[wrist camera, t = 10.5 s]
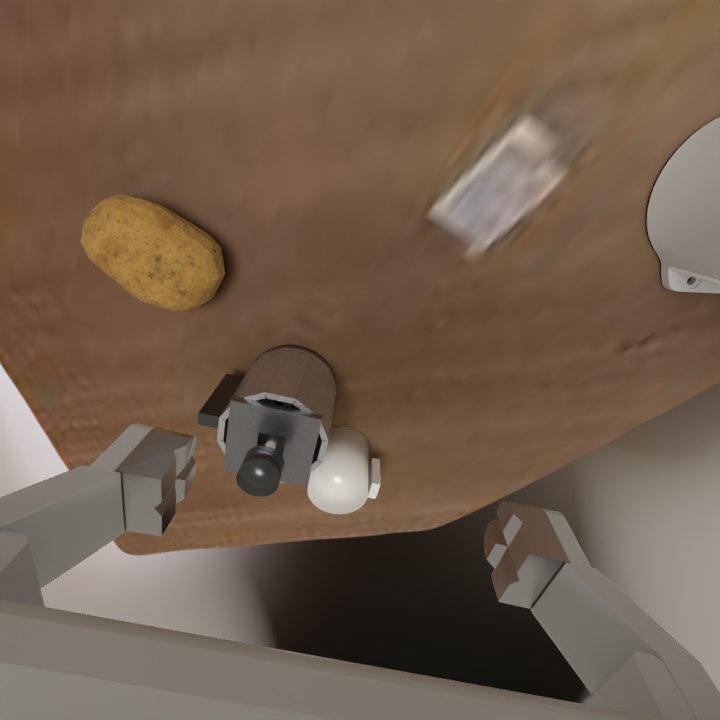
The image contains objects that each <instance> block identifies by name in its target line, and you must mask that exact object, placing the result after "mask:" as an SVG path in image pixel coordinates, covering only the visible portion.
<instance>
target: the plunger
mask: <svg viewBox="0 0 720 720" xmlns="http://www.w3.org/2000/svg"><path fill="white" fill-rule="evenodd" d="M259 401H260V402H265V403H270V404H274V405H279V406H284V407H288V408H293V409H298V410H300V409H299V408H298V407H296V406H295V405H294V404H291V403H286V402H282V401H277V400H272V399H268V398H264V399H260V400H259ZM278 439H279V437H278V436H273V435H269V437H268V439H267V442H266V444H265V446H256V447H253V448H251V449H250V450H249V451H248V452H247V453H246V455H245V458H244V460H243V462H242V464H241V467H240V469H239V471H238V473H237V478H236V479H237V483H238V485H239V487H240V488H241V489H242V490H243V491H245V492H246V493H248V494H250V495H253V496H268V495H270V494H272V493H274V492H275V491H276V490H277V488H278V486H279V482H280V479H281V476H282V472H283V469H284V465H285V461H284V458H283V456H282V455H281V453H280V452H278V451H277V450H276V449H275V448H276V445H277V442H278Z"/></svg>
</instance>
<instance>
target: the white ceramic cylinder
mask: <svg viewBox="0 0 720 720" xmlns="http://www.w3.org/2000/svg"><path fill="white" fill-rule="evenodd" d="M368 465H369V446H368V442H367V439H366V438H365V436H364V435H363V434H362V433H361V432H359V431H358V430H356V429H354V428H351V427H346V426H337V427H332V428H330V434H329V441H328V445H327V448H326V452H325V456H324V460H323V463H322V464H321V465H319V466H318V467H317V468H316V469H315V470H313V471H312V472H311V474H310V479H309V484H308V496H309V498H310V500H311V502H312V503H313V504H314V505H315V506H316V507H318V508H319V509H321V510H323V511H325V512H328V513H332V514H347V513H351V512H354V511H356V510H358V509H359V508H360V507H362V506H363V505H364V503H365V502H366V500H367V498H372V499H376V496H377V493H378V491H379V488H380V485H381V482H380V459H375V458H372V460H371V463H370V466H369V470H368Z"/></svg>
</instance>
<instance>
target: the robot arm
mask: <svg viewBox="0 0 720 720" xmlns="http://www.w3.org/2000/svg"><path fill="white" fill-rule="evenodd" d="M647 230H648V235H649V239H650V242H651V244H652V246H653V248H654V250H655V251H656V253H657V255H658V257H659V259H660V261H661V278H662V284H663V286H664V287H665V288H666V289H668V290H672V291H677V292H697V293H718V294H720V117H718V118H716V119H715V120H713V121H711V122H710V123H708V124H707V125H705V126H704V127H702V128H701V129H699V130H698V131H697V132H696V133H694V134H693V135H692V136H691V137H690V138H689V139H688V140H686V141H685V142H684V143H683V144H682V145H681V146H680V148H679V149H678V150H677V151H676V152H675V153H674V155H673V156H672V157H671V158H670V160H669V161H668V163H667V164H666V165H665V167H664V169H663V170H662V172H661V174H660V175H659V177H658V179H657V181H656V184H655V186H654V188H653V191H652V194H651V197H650V201H649V205H648V211H647ZM690 277H691V279H690V281H689V282H687V280H688V279H689V278H690ZM196 449H197V438H196V437H195V436H191V435H187V434H183V433H179V432H174V431H170V430H166V429H162V428H157V427H156V428H155V427H151V426H147V425H143V424H139V423H135V424H132V425H130V426H129V427H128V428H127V429H126V430H125V431H124V432H123V433H122V434H121V435H120V436H119V437H118V438H117V439H116V440H115V441H114V442H113V443H112V444H111V445H110V446H109V447H108V448H107V449H106V450H105V451H104V452H103V453H102V454H101V455H100V456H99V457H98V458H97V459H96V460H95V461H94V462H93V463H92V464H91V465H90V466H84V465H83V466H80V467H77V468H75V469H72V470H70V471H67V472H65V473H62V474H60V475H57V476H55V477H52V478H49V479H47V480H44V481H42V482H39V483H36V484H34V485H31V486H29V487H26V488H24V489H21V490H19V491H16V492H13V493H11V494H8V495H6V496H3V497H1V498H0V720H720V692H719V691H718V690H717V688H716V686H715V685H714V683H713V682H712V680H711V679H710V677H709V676H708V674H707V672H706V671H705V669H704V668H703V666H702V665H701V663H700V662H699V661H698V660H697V659H696V658H695V657H694V656H693V655H692V654H690V653H689V652H688V651H687V650H686V649H685V648H684V647H683V646H682V645H681V644H679V643H678V642H677V641H676V640H675V639H674V638H673V637H672V636H671V635H670V634H668V633H667V632H666V631H665V630H664V629H663V628H662V627H661V626H660V625H658V624H657V623H656V622H655V621H654V620H653V619H652V618H651V617H650V616H649V615H647V614H646V613H645V612H644V611H643V610H642V609H640V607H639V606H638V605H636V604H635V603H634V602H633V601H632V600H631V599H630V598H629V597H627V596H626V595H625V594H624V593H623V592H622V591H621V590H620V589H619V588H618V587H617V586H615V585H614V584H613V583H612V582H611V581H610V580H609V579H608V578H606V576H604V575H603V574H602V573H601V572H600V571H599V570H598V569H594V568H591V566H590V564H589V562H588V560H587V558H586V556H585V555H584V553H583V551H582V549H581V547H580V545H579V543H578V542H577V540H576V538H575V536H574V534H573V532H572V530H571V528H570V526H569V525H568V523H567V521H566V519H565V517H564V516H563V515H562V514H561V513H560V512H557V511H552V510H547V509H541V508H540V509H539V508H536V507H531V506H525V505H521V504H516V503H511V502H505V501H504V502H502V503H501V504H500V505H499V507H498V509H497V510H496V512H497V515H498V518H497V519H495V520H494V521H492V522H490V523H489V525H488V527H487V529H486V531H485V537H484V550H485V554H486V558H487V560H488V561H489V563H490V564H491V565H492V566H493V567H494V568H495V569H494V571H493V573H492V575H491V577H492V580H493V584H494V587H495V591H496V595H497V598H498V601H499V602H502V603H507V604H511V605H516V606H520V607H525V608H529V609H532V610H531V612H532V613H533V614H534V616H535V617H536V619H537V620H538V621H539V623H540V624H541V625H542V627H543V628H544V630H545V631H546V632H547V634H548V635H549V636H550V638H551V639H552V641H553V642H554V643H555V645H556V646H557V647H558V649H559V650H560V652H561V653H562V654H563V655H564V657H565V658H566V660H567V661H568V662H569V664H570V665H571V667H572V668H573V669H574V671H575V672H576V673H577V675H578V676H579V678H580V679H581V680H582V682H583V683H584V684H585V686H586V687H587V688H588V690H589V691H590V693H591V695H590V696H589V697H588V698H587V699H586V700H585V701H583V703H582V704H580V703H574V702H568V701H563V700H557V699H551V698H546V697H541V696H535V695H530V694H524V693H518V692H513V691H507V690H502V689H496V688H490V687H485V686H479V685H474V684H469V683H463V682H458V681H452V680H446V679H441V678H435V677H430V676H424V675H419V674H412V673H408V672H402V671H396V670H390V669H385V668H380V667H374V666H369V665H363V664H358V663H352V662H346V661H341V660H335V659H330V658H324V657H318V656H313V655H307V654H301V653H296V652H291V651H285V650H280V649H274V648H268V647H263V646H257V645H252V644H246V643H241V642H235V641H230V640H223V639H218V638H213V637H207V636H202V635H196V634H191V633H185V632H179V631H174V630H168V629H163V628H157V627H152V626H146V625H141V624H135V623H130V622H124V621H118V620H113V619H108V618H102V617H97V616H91V615H86V614H80V613H74V612H69V611H63V610H58V609H52V608H46V607H45V605H44V601H43V598H42V593H41V588H42V587H44V586H45V585H47V584H48V583H50V582H51V581H52V580H54V579H55V578H57V577H59V576H60V575H62V574H63V573H65V572H66V571H68V570H69V569H71V568H72V567H74V566H75V565H77V564H78V563H80V562H81V561H82V560H84V559H86V558H87V557H88V556H90V555H92V554H93V553H94V552H96V551H97V550H99V549H100V548H102V547H103V546H105V545H106V544H108V543H109V542H111V541H112V540H114V539H115V538H117V537H118V536H120V535H121V534H123V533H124V532H125V530H127V531H133V532H139V533H145V534H151V535H157V536H162V535H163V533H164V532H165V530H166V529H167V527H168V525H169V524H170V522H171V520H172V519H173V517H174V515H175V514H176V503H178V502H180V501H181V500H183V499H185V497H186V495H187V493H188V492H189V490H190V487H191V485H192V482H193V480H194V476H195V471H196V461H195V460H194V458H193V457H192V455H193V454H194V452H195V451H196Z"/></svg>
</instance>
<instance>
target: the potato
mask: <svg viewBox="0 0 720 720" xmlns="http://www.w3.org/2000/svg"><path fill="white" fill-rule="evenodd" d="M81 244H82V246H83V248H84V249H85V251H86V253H87V255H88V257H89V259H90V260H91V261H92V262H94V263H95V264H96V265H97V266H98V267H99V268H100V269H101V270H103V271H104V272H105V273H106V274H108V275H109V276H110V277H111V278H113V279H114V280H115V281H116V282H118V283H119V284H120V285H121V286H122V287H123V288H124V289H125V290H126V291H127V292H128V293H129V294H131V295H132V296H134V297H136V298H138V299H139V300H141V301H143V302H145V303H148V304H151V305H155V306H159V307H163V308H166V309H169V310H173V311H192V310H194V309H195V308H197V307H199V306H201V305H202V304H204V303H206V302H207V301H209V300H211V299H212V298H213V297H214V295H215V293H216V291H217V289H218V287H219V285H220V283H221V281H222V279H223V277H224V275H225V270H224V262H223V254H222V248H221V247H220V246H219V245H218V244H217V243H216V241H215V240H214V239H213V238H212V237H211V236H210V235H209V234H207V233H206V232H204V231H203V230H201V229H200V228H198V227H197V226H195V225H193V224H192V223H190V222H189V221H187V220H185V219H184V218H182V217H180V216H179V215H177V214H176V213H174V212H172V211H171V210H169V209H168V208H166V207H164V206H162V205H159V204H156V203H154V202H151V201H148V200H145V199H139V198H135V197H130V196H126V195H122V194H120V195H116V196H113V197H109V198H106V199H103V200H101V201H100V202H99V203H98V204H97V205H96V206H95V207H94V208H93V209H92V210H91V211H90V213H89V214H88V215H87V216H86V217H85V218H84V223H83V230H82V237H81Z"/></svg>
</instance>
